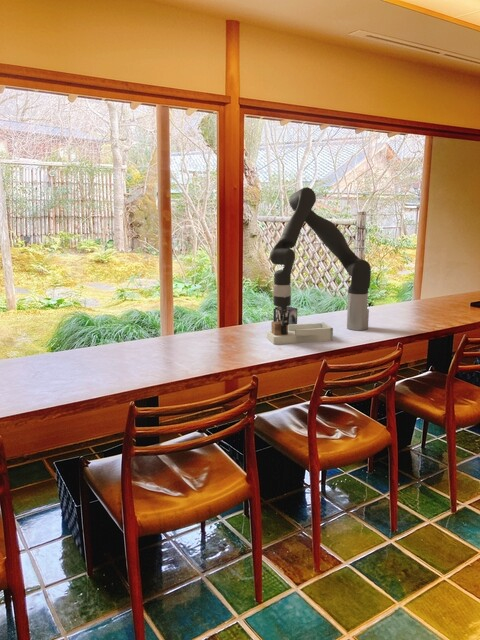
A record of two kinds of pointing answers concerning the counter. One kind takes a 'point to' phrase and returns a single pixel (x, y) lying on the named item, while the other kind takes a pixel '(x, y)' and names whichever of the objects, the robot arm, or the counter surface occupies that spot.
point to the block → (278, 328)
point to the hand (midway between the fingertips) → (281, 332)
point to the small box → (292, 315)
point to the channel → (303, 333)
